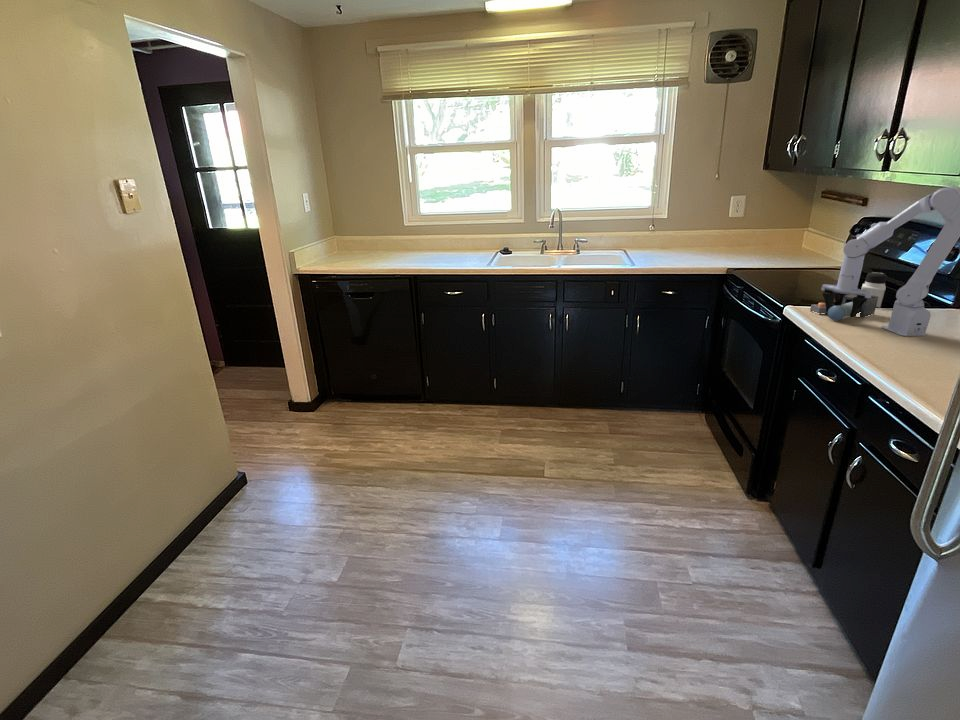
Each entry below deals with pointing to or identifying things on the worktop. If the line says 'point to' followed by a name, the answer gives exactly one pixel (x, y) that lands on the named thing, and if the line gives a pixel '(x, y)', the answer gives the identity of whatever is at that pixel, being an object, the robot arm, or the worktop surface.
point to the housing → (867, 306)
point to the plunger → (821, 305)
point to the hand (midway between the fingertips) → (840, 314)
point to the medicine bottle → (876, 286)
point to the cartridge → (841, 311)
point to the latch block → (818, 309)
